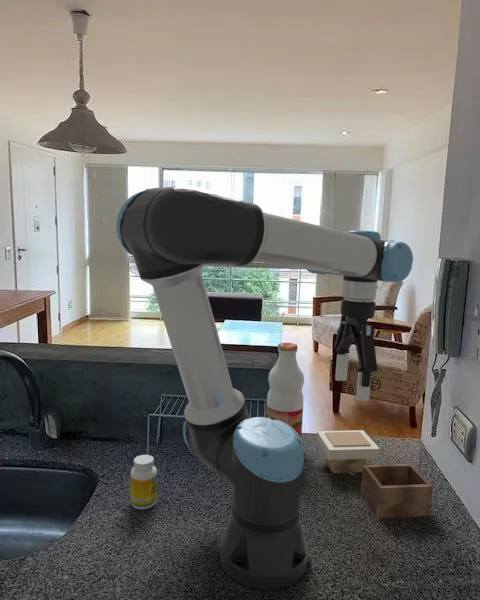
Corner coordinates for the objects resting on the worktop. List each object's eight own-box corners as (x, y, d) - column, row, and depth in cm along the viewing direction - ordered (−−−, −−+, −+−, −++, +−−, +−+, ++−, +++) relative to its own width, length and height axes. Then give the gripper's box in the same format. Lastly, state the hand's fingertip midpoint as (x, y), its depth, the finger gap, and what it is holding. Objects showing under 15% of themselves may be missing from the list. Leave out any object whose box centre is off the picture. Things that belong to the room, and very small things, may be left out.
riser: (332, 475, 109) (334, 455, 108) (325, 462, 115) (326, 443, 114) (365, 474, 110) (366, 454, 109) (356, 461, 116) (357, 442, 115)
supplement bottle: (133, 494, 98) (133, 452, 97) (158, 495, 99) (158, 452, 97) (128, 510, 93) (127, 465, 92) (154, 510, 93) (155, 465, 92)
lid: (328, 459, 106) (329, 448, 106) (316, 440, 116) (317, 430, 115) (378, 458, 107) (379, 447, 107) (362, 439, 117) (363, 429, 117)
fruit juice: (265, 439, 127) (270, 339, 123) (300, 442, 126) (306, 341, 122) (263, 455, 117) (268, 348, 113) (301, 458, 116) (307, 350, 112)
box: (377, 520, 92) (380, 488, 91) (360, 495, 101) (362, 465, 100) (429, 518, 94) (433, 486, 93) (408, 493, 102) (411, 463, 101)
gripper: (400, 308, 94) (390, 409, 96) (353, 292, 118) (347, 373, 121) (364, 307, 92) (355, 409, 95) (325, 291, 117) (319, 373, 120)
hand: (350, 389), depth 108 cm, fingers open, 13 cm apart
